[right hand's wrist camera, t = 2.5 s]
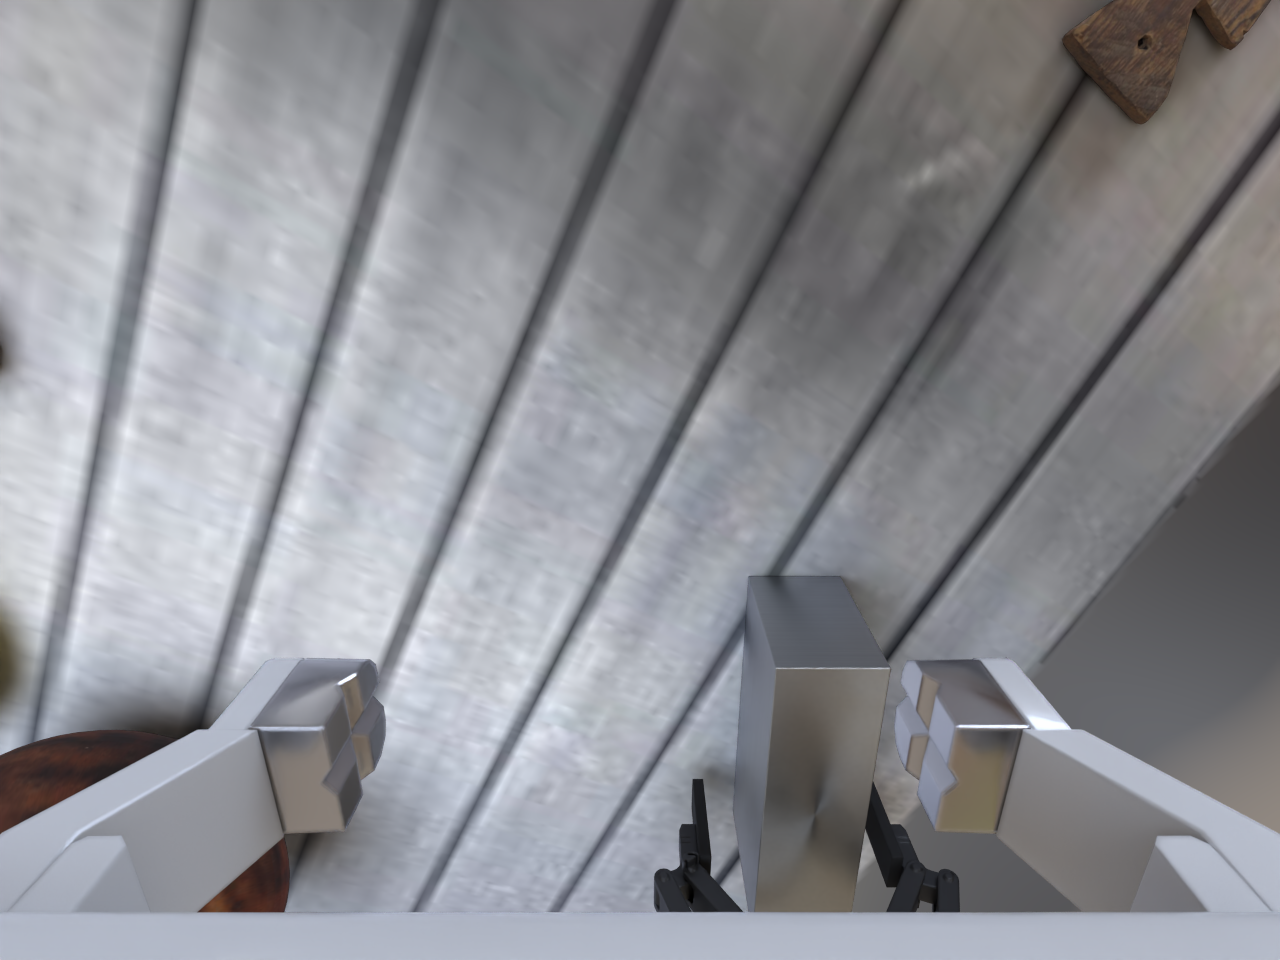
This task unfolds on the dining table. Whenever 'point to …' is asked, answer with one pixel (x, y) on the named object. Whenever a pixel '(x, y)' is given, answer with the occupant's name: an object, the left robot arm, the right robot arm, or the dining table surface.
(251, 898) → the marbled brown ball
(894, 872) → the left robot arm
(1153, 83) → the dark wooden board
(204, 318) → the dining table surface
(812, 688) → the box
